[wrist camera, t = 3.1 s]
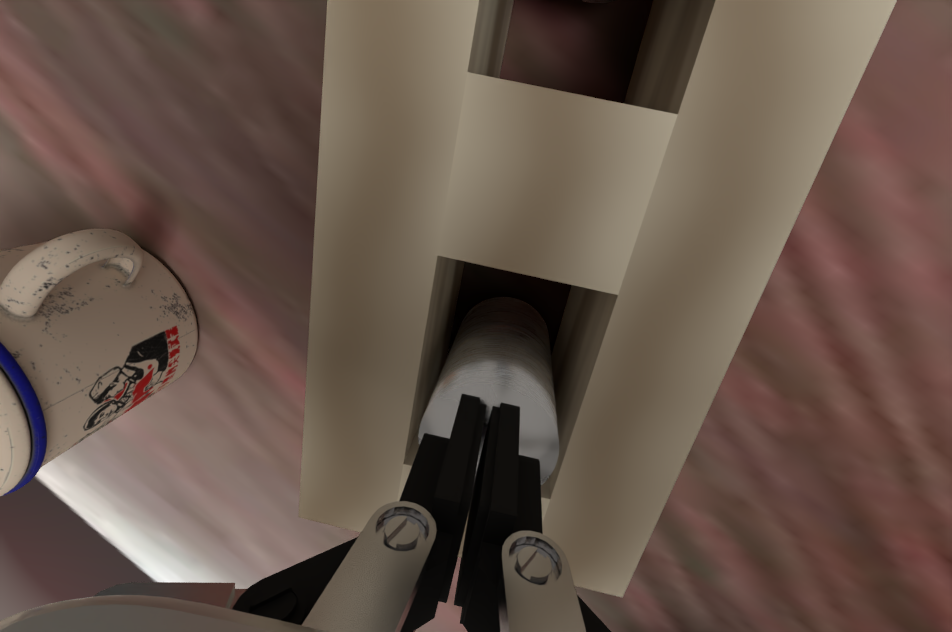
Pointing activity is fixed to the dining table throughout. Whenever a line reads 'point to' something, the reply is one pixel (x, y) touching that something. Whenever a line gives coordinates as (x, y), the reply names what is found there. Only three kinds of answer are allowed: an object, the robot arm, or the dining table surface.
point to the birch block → (558, 236)
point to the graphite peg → (598, 1)
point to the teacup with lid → (82, 342)
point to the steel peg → (501, 376)
